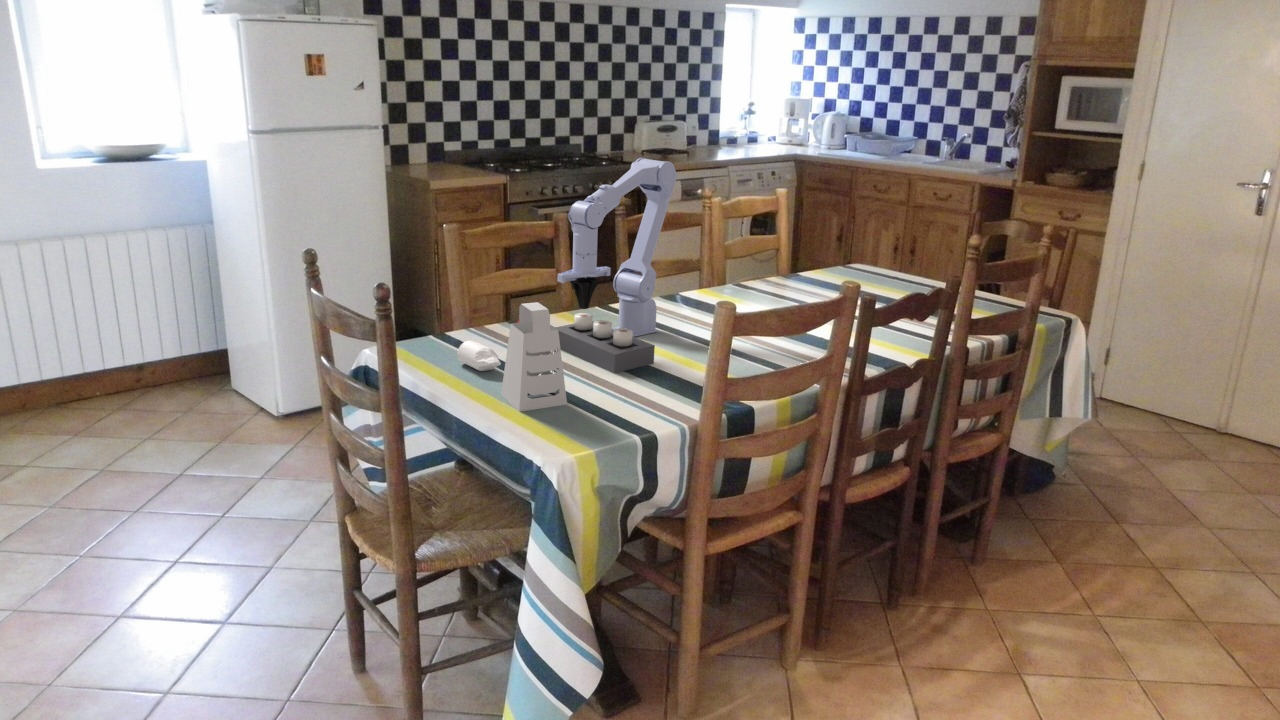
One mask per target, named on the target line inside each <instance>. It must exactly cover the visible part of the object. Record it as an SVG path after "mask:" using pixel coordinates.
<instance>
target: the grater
mask: <svg viewBox="0 0 1280 720" xmlns="http://www.w3.org/2000/svg"><path fill="white" fill-rule="evenodd" d="M518 309H519V310H518V315H519V318H518V319H519V323H516V322H515V323H514V322H513V323H510V326H509V334H508V335H509V336H508V341H507V349H506V357H505V363H504V371H503V378H502V384H501V391H500V393H501V396H502V397H503V398H504V399H505V400H506V401H508V403H510V404H511V405H512V406H513V407H514V408H515V409H516V410H517V411H518V412H526V411H532V410H537V409H539V410H540V409H546V408H553V407H560V406H566V405H568V399H567V391H566V384H565V376H564V366H563V358H562V350H561V349H560V340H559V332H558V330H557V329H556V328H555V326H553V325H552V324H551V315H550V311H549V308H547V307H546V306H544V305H542V304H541V303H540V302H538V301H537V302H527V303H525V302H524V303H521V304H520V305H519V308H518ZM551 393H552V394H554V395H549V396H544V397H543V396H542V397H541V396H540V397H536V398H531V397H528V396H529V395H531V396H537V395H544V394H551ZM528 394H529V395H528Z"/></svg>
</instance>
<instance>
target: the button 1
mask: <svg viewBox="0 0 1280 720" xmlns="http://www.w3.org/2000/svg"><path fill="white" fill-rule="evenodd" d="M573 318H574V319H573V320H574V322H573V324H574V328H575V329H578V330H590V329H592V321H593V318H594V317H593V314H592V313H591V314H590V313H587V312H586V313H585V312H579V313H575V314H574V316H573Z"/></svg>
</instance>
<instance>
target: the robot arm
mask: <svg viewBox="0 0 1280 720" xmlns="http://www.w3.org/2000/svg"><path fill="white" fill-rule="evenodd" d="M677 177H678V173H677V171H676V168H675V166H674V164H673V162H672V161H663V160H662V161H661V160H654V159H649V158H646V157H639V158H637V159H636V160H635V161H634V162H632V163H631V165H630V169H629V170H628V171H627V172H626V173H624V174H623V175H622V176H621V177H620V178H619V179H618V180H616V181H615V182H614V183H613V184H601V185H599V189H597V190H596V191H595V192H593V193H592V194H591V195H588V196H587V197H586V198H585V199H584V200H577V201H575V202H574V203H573V204H572V205H571V207H570V209H569V211H568V213H567V217H568V218H567V219H568V221H569V222H570V224H571V230H572V231H571V232H572V233H573V234H572V235H573V236H572V237H573V238H572V239H573V240H572V269H569V270H565V271H563V272H559V273H557V275H556V276H557V282H558V283H561V284H565V283H566V282H569V283H570V284H571V286H572V288H573V290H574V293H575V296H576V300H577V304H578V308H580V309H583V310H588V309H589V306H590V304H591V300H592V297H593V295H594V291H595V290H596V288H597V287H598V285H599V279H597V278H598V277H604V276H605V277H609V276H611V269H612V268H611V267H609V266H606V265H605V266H598V265H597V264H598V233H599V232H598V229H599V227H601V225H602V224H603V222H604V218H605V217H606V215H608V214H609V213H610V212H611V211H613V209H615V208H617V207H618V206H619V205H620V203H621V200H622V199H621V198H622V197H624V196H625V195H627V194H628V193H629V192H632V190H635V189H636V188H637V187H639V188H640V190H641V191H642V193H644V194H645V196H646V198H647V201H646V205H645V208H644V212H643V214H642V215H643V216H642V218H641V222H640V225H639V228H638V231H637V234H636V238H635V240H634V245H633V248H632V251H631V254H630V258H629V259H627V260H625V261H623V262H622V263H621V264H620V266H619V268H618V271H617V272H616V274H615V275H614V278H613V281H612V282H613V283H612V285H613V289H614V292H615V293H617V296H616V297H618V298H619V303H618V306H619V307H618V326H615V327H612V329H614V330H615V329H618V328H626V329H630V330H632V331H633V333H632V337H635V338H636V337H639V336H644V335H647V334H648V335H649V334H652V333H657V332H658V329H656V327H657V326H656V324H657V304H656V301H655V300H654V298H653V297H652V296H653V294H654V292H655V289H656V278H657V272H656V271H655V269H654V268H653V267H652V266H653V265H651V264H652V260H653V257H654V254H655V251H656V247H657V244H658V241H659V238H660V235H661V231H662V229H663V228H662V227H663V225H664V221H665V217H666V215H667V212H668V207H669V205H670V202H671V197H672V194H673V191H674V188H675V184H676V181H677Z"/></svg>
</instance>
